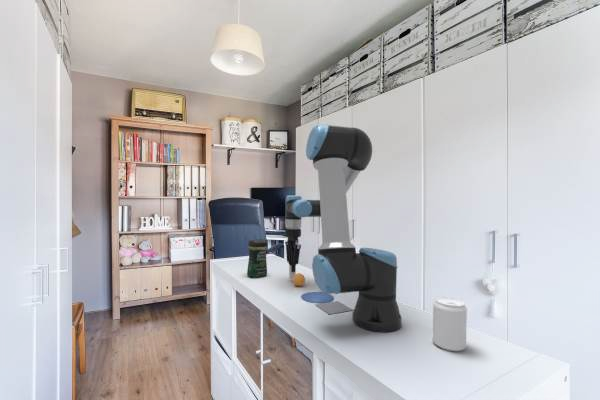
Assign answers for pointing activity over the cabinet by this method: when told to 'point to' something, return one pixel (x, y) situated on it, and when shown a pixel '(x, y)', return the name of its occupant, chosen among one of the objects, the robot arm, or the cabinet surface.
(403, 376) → the cabinet surface
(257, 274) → the coffee jar
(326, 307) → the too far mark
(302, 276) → the ball
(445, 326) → the beverage can
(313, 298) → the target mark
